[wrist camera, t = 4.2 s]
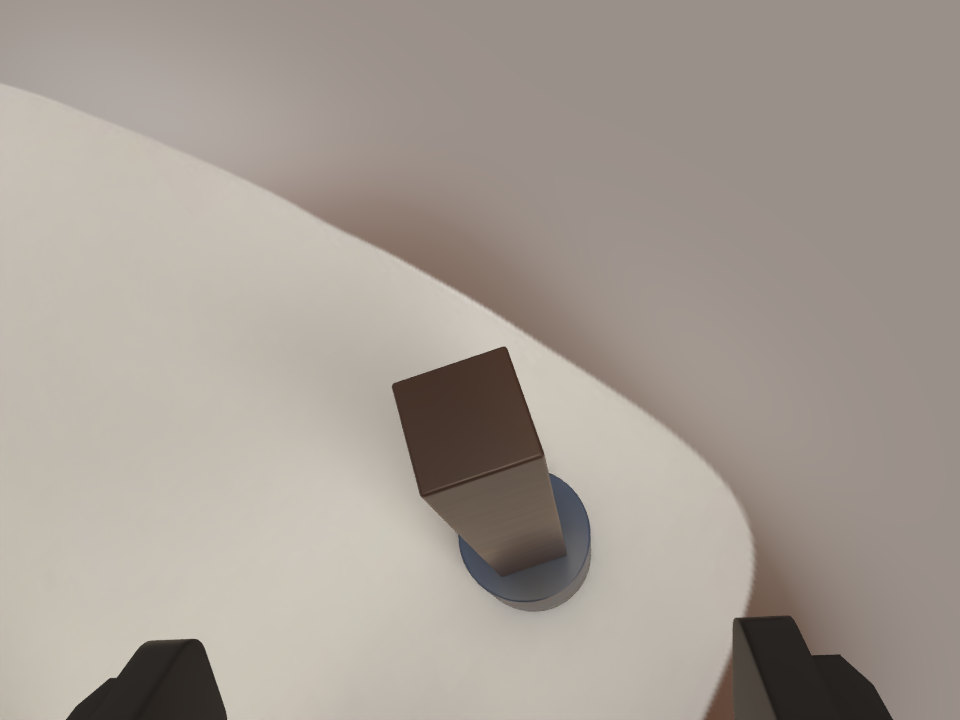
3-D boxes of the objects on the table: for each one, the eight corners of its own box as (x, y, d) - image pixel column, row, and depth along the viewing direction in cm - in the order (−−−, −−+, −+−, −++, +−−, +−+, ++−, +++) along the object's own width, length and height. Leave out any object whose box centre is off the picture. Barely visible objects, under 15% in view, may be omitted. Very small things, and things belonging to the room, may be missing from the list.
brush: (567, 478, 28) (540, 280, 14) (608, 590, 26) (625, 493, 12) (462, 513, 28) (327, 353, 14) (494, 627, 26) (376, 577, 12)
